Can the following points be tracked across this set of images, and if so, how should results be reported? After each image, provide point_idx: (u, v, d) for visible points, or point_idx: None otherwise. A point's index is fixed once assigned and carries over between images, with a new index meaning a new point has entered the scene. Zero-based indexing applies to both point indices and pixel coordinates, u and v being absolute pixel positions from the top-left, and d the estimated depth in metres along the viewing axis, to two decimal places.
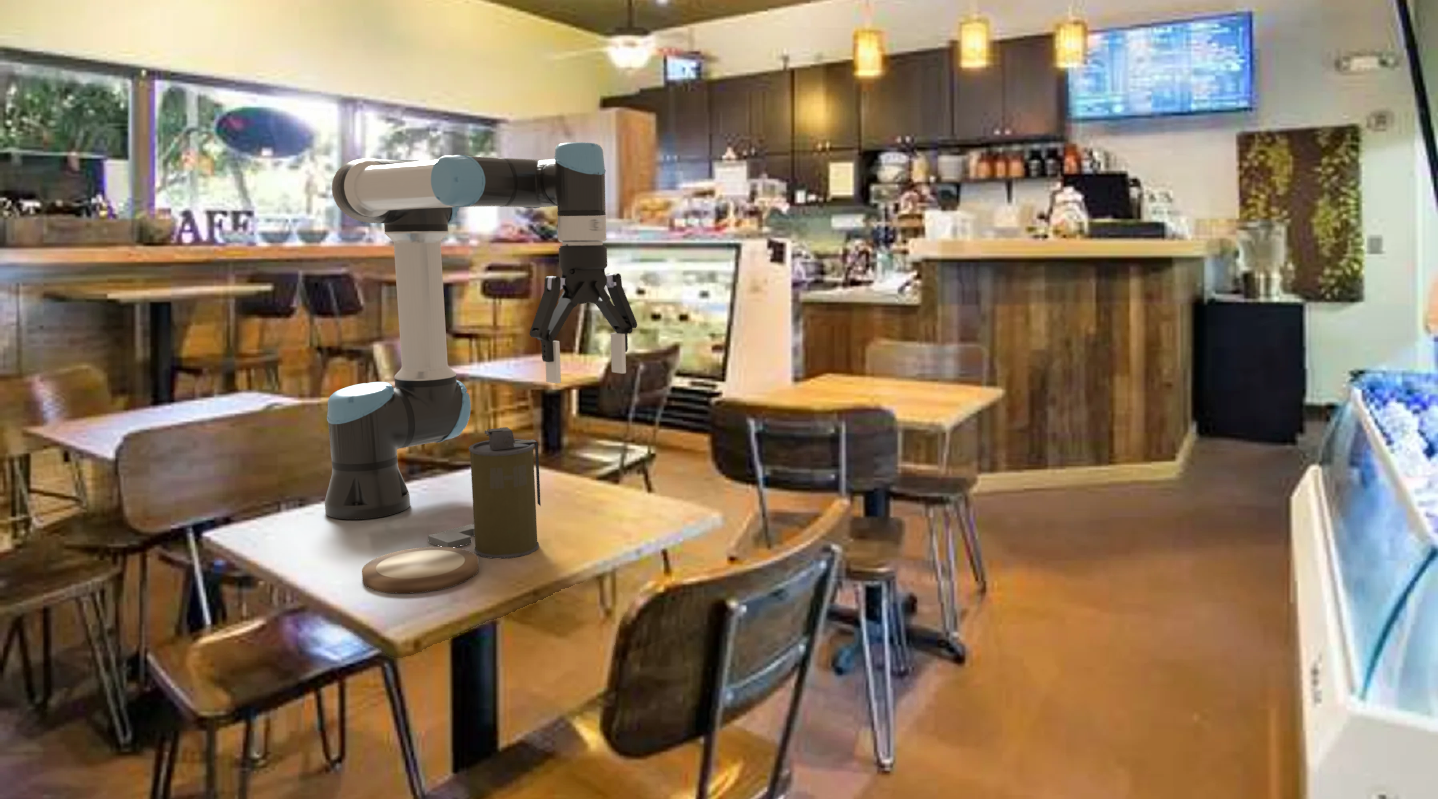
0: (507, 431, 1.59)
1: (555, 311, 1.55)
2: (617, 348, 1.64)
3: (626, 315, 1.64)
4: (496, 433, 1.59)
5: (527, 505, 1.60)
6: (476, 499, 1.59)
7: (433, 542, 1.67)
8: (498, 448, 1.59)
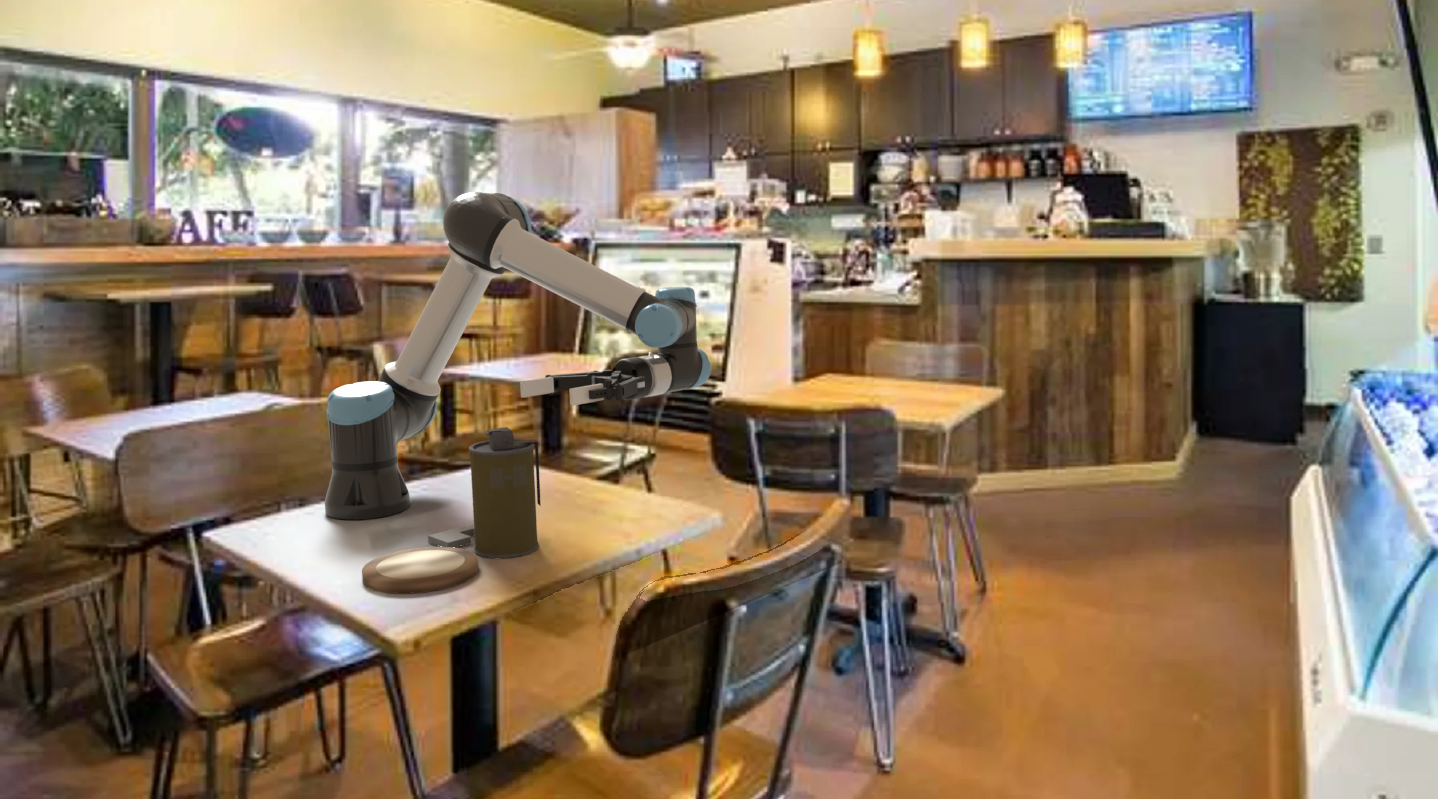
0: (507, 431, 1.59)
1: None
2: None
3: (620, 384, 1.68)
4: (496, 433, 1.59)
5: (527, 505, 1.60)
6: (476, 499, 1.59)
7: (433, 542, 1.67)
8: (498, 448, 1.59)
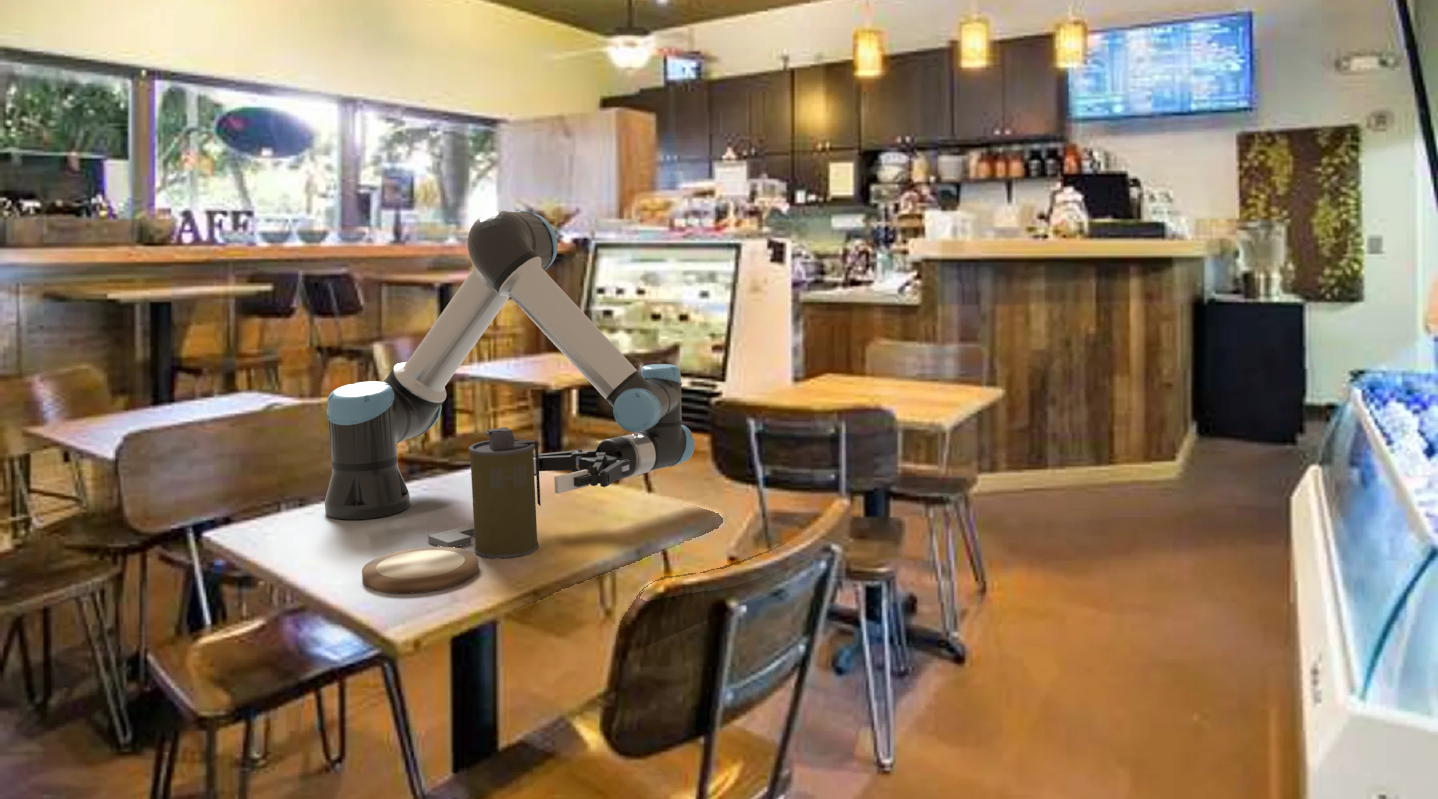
0: (507, 431, 1.59)
1: None
2: None
3: None
4: (496, 433, 1.59)
5: (527, 505, 1.60)
6: (476, 499, 1.59)
7: (433, 542, 1.67)
8: (498, 448, 1.59)
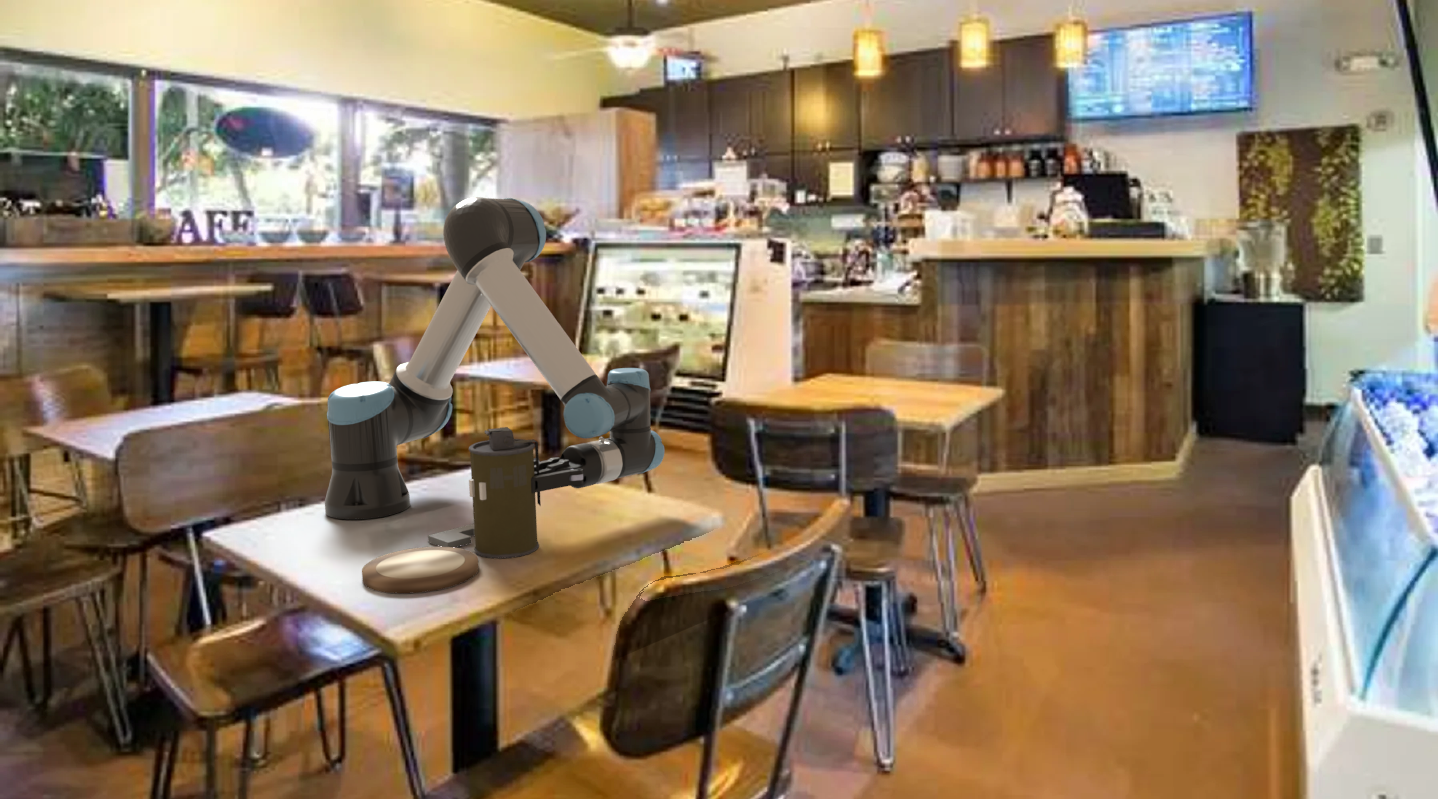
0: (507, 431, 1.59)
1: None
2: None
3: None
4: (496, 433, 1.59)
5: (527, 505, 1.60)
6: (476, 499, 1.59)
7: (433, 542, 1.67)
8: (498, 448, 1.59)
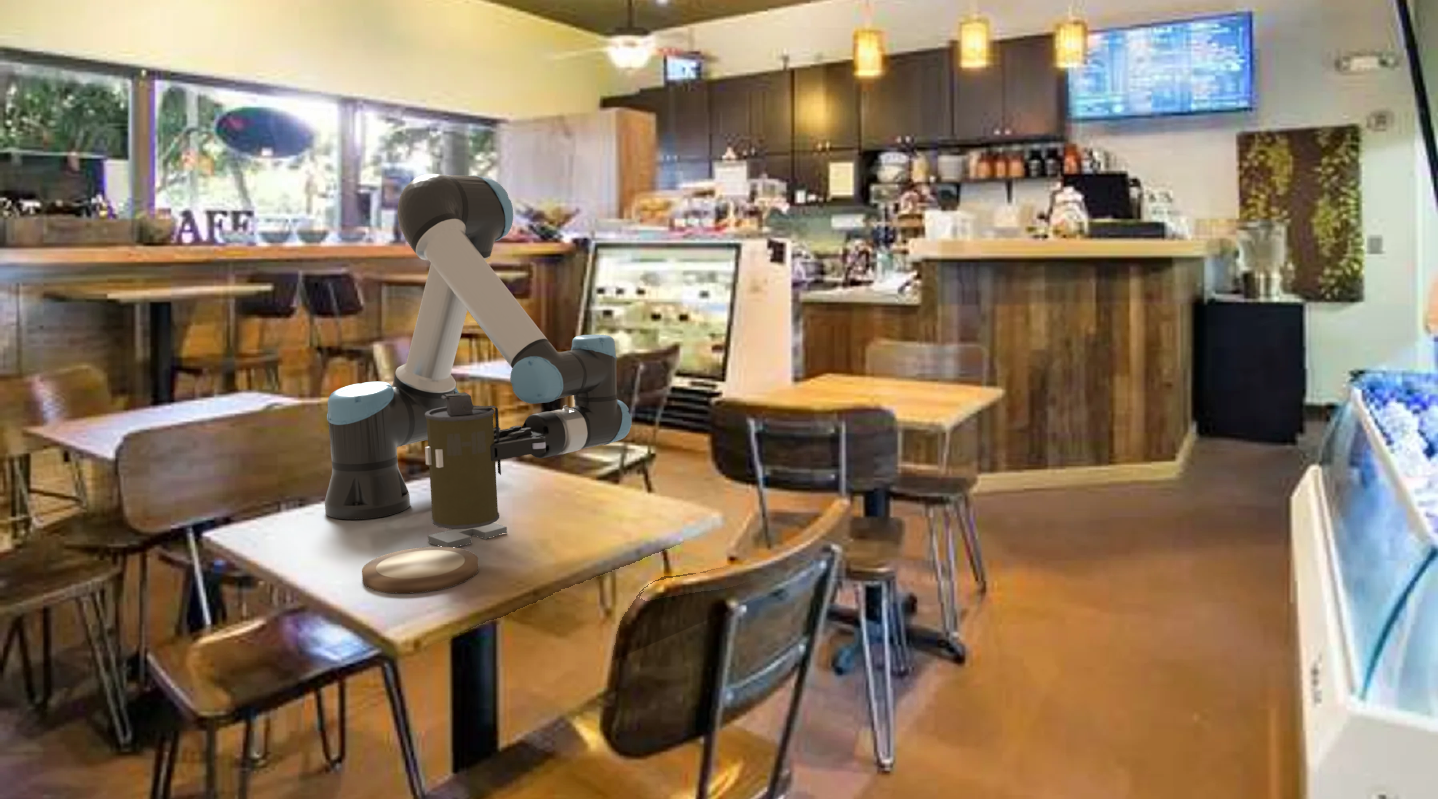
0: (465, 396, 1.52)
1: None
2: None
3: None
4: (453, 398, 1.52)
5: (486, 473, 1.53)
6: (433, 467, 1.52)
7: (433, 542, 1.67)
8: (456, 414, 1.52)
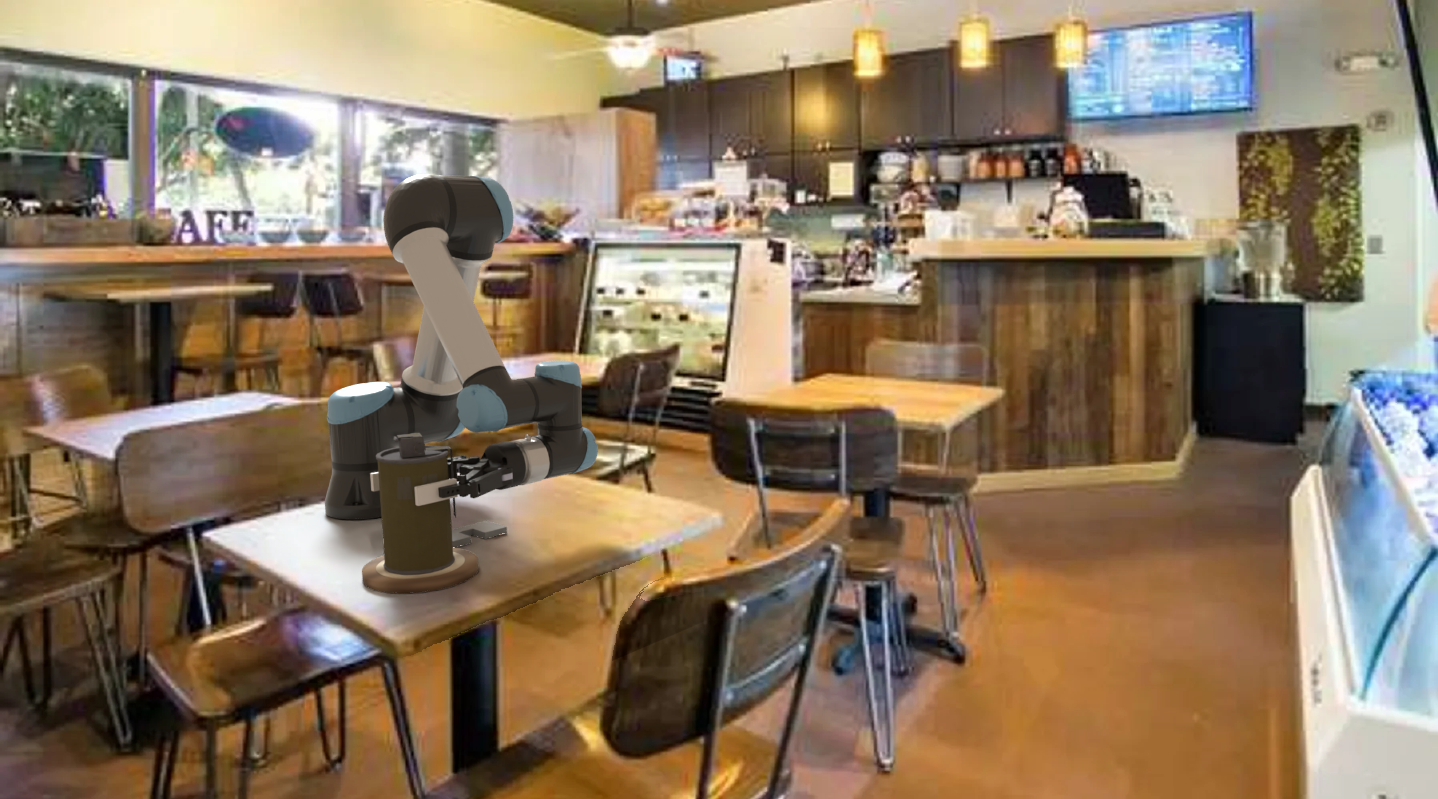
0: (417, 437, 1.48)
1: None
2: None
3: None
4: (405, 439, 1.47)
5: (439, 517, 1.48)
6: (383, 511, 1.47)
7: None
8: (407, 455, 1.47)
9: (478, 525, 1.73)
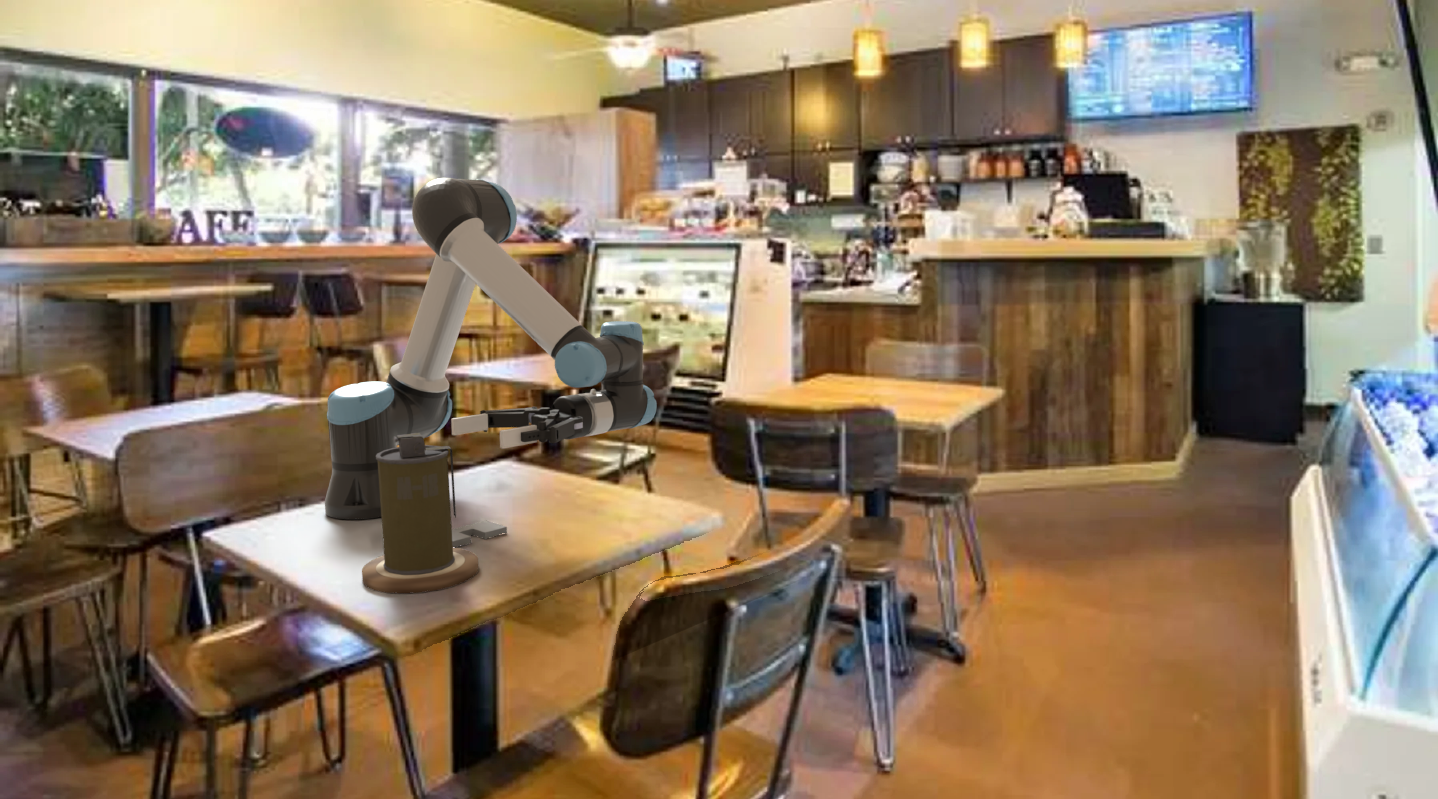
0: (417, 437, 1.48)
1: None
2: None
3: None
4: (405, 439, 1.47)
5: (439, 517, 1.48)
6: (383, 511, 1.47)
7: None
8: (407, 455, 1.47)
9: (478, 525, 1.73)
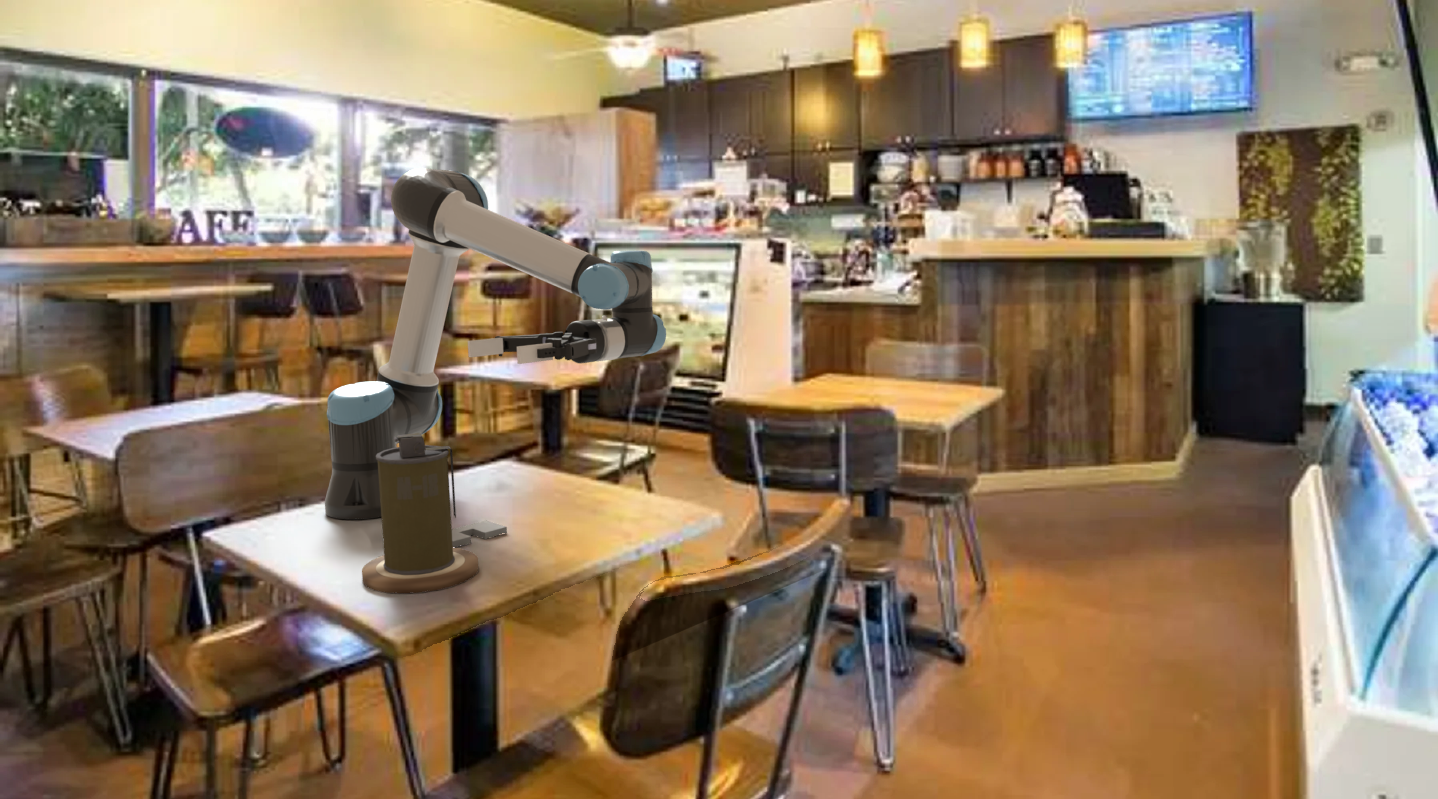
0: (417, 437, 1.48)
1: None
2: None
3: None
4: (405, 439, 1.47)
5: (439, 517, 1.48)
6: (383, 511, 1.47)
7: None
8: (407, 455, 1.47)
9: (478, 525, 1.73)
